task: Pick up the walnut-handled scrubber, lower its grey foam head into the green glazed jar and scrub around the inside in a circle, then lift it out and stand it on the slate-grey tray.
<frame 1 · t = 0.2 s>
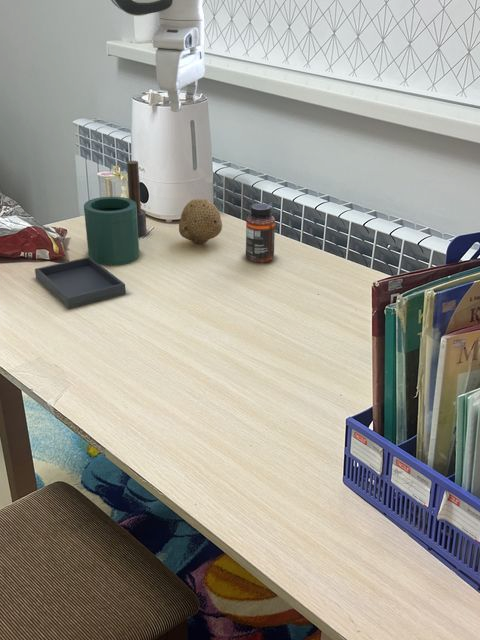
hand: (183, 106, 145), 27 cm above the table, tool pointing down, fingers open, 8 cm apart
natural sponge: (201, 244, 151), on the table
supplement bottle: (259, 259, 145), on the table
jar: (114, 255, 143), on the table
tray: (80, 286, 130), on the table
scrubber: (136, 233, 155), on the table
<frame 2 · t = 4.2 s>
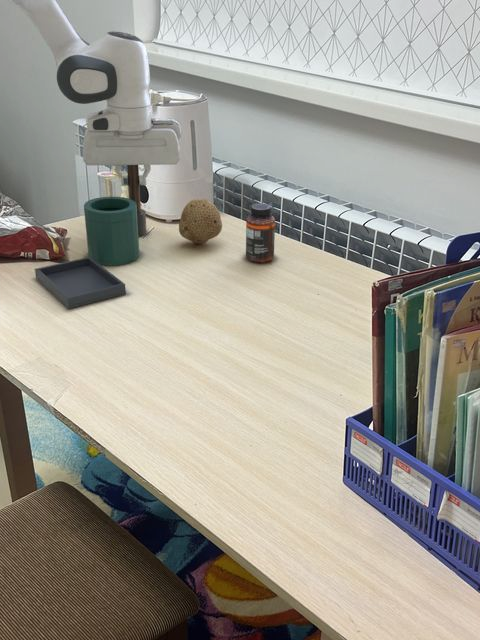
hand: (133, 184, 149), 11 cm above the table, tool pointing down, fingers closed on scrubber, 2 cm apart
scrubber: (136, 233, 155), on the table, touching gripper
everything else where it was.
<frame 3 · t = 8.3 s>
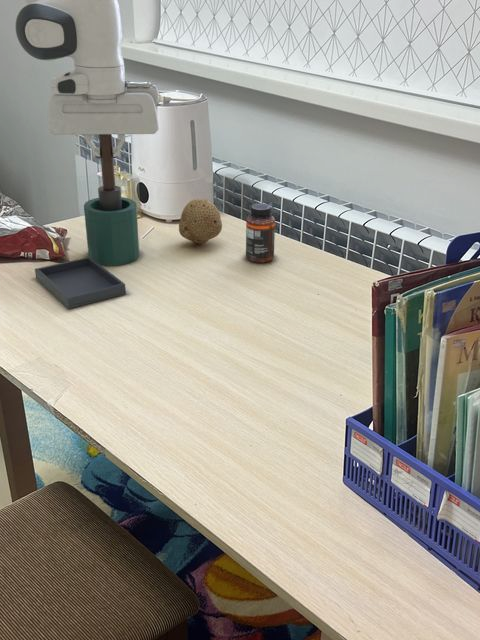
hand: (106, 157, 133), 20 cm above the table, tool pointing down, fingers closed on scrubber, 2 cm apart
scrubber: (111, 212, 139), point 9 cm above the table, touching gripper
everything else where it was.
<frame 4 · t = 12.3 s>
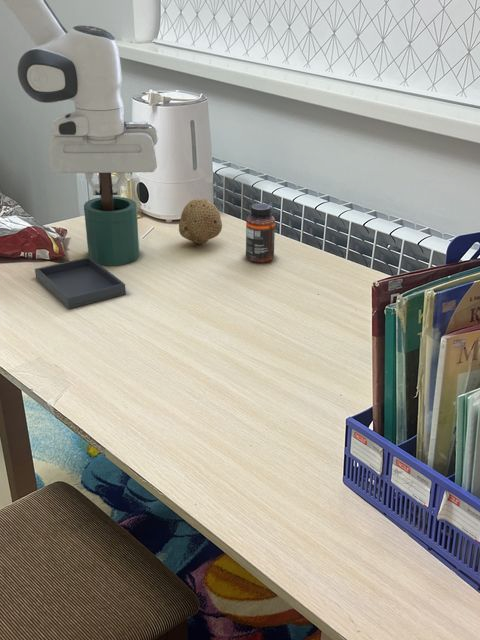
hand: (106, 194, 136), 13 cm above the table, tool pointing down, fingers closed on scrubber, 2 cm apart
scrubber: (110, 247, 142), point 2 cm above the table, touching gripper
everything else where it was.
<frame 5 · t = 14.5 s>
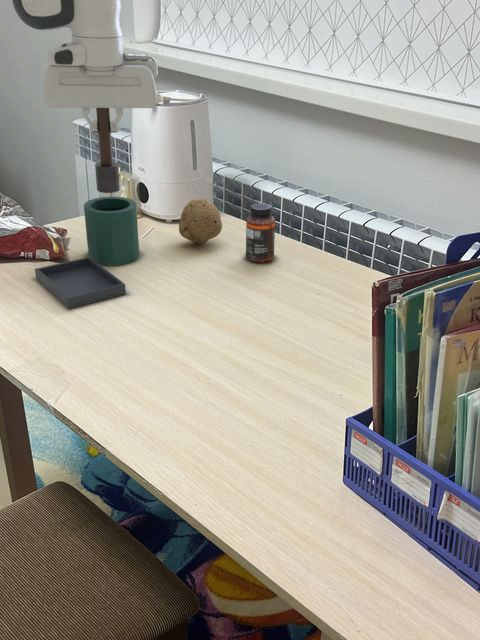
hand: (104, 131, 131), 25 cm above the table, tool pointing down, fingers closed on scrubber, 2 cm apart
scrubber: (108, 189, 136), point 14 cm above the table, touching gripper
everything else where it was.
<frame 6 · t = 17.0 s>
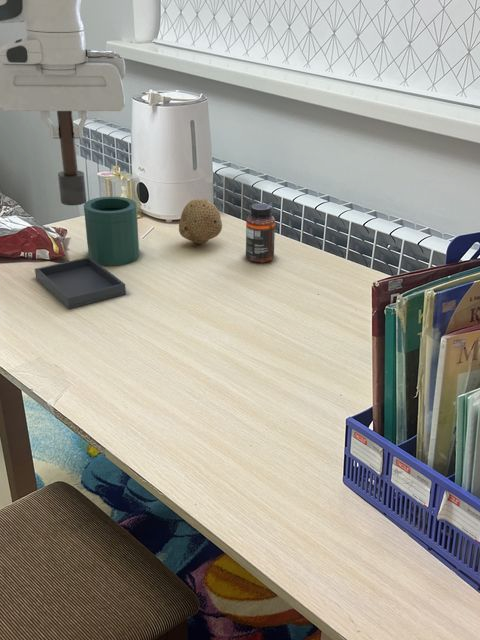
hand: (66, 137, 117), 27 cm above the table, tool pointing down, fingers closed on scrubber, 2 cm apart
scrubber: (73, 201, 123), point 16 cm above the table, touching gripper
everything else where it was.
when the fingers open (12 cm above the table, at t = 20.7 s): scrubber stays where it is, resting on tray.
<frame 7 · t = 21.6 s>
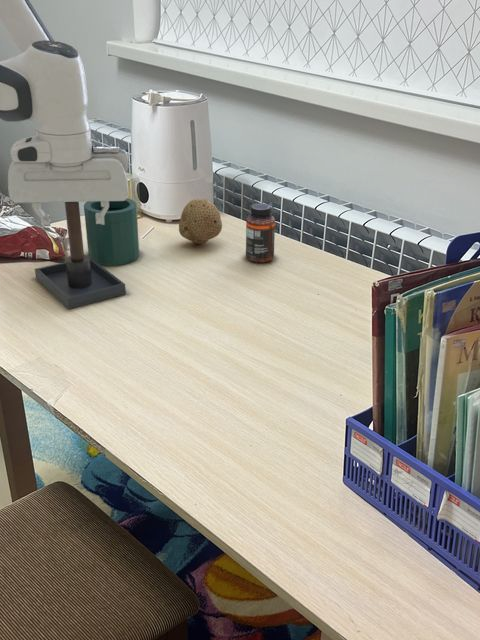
hand: (73, 224, 124), 12 cm above the table, tool pointing down, fingers open, 8 cm apart
scrubber: (80, 283, 130), point 1 cm above the table, touching tray
everything else where it was.
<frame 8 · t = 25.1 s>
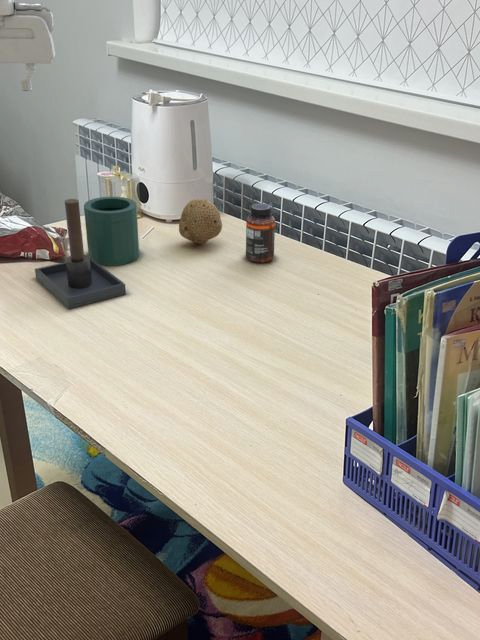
nothing on the table moved.
at the end: scrubber inside the target area on the tray (0.1 cm from its centre), point 0.6 cm above the tray's base; the gripper is holding nothing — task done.
